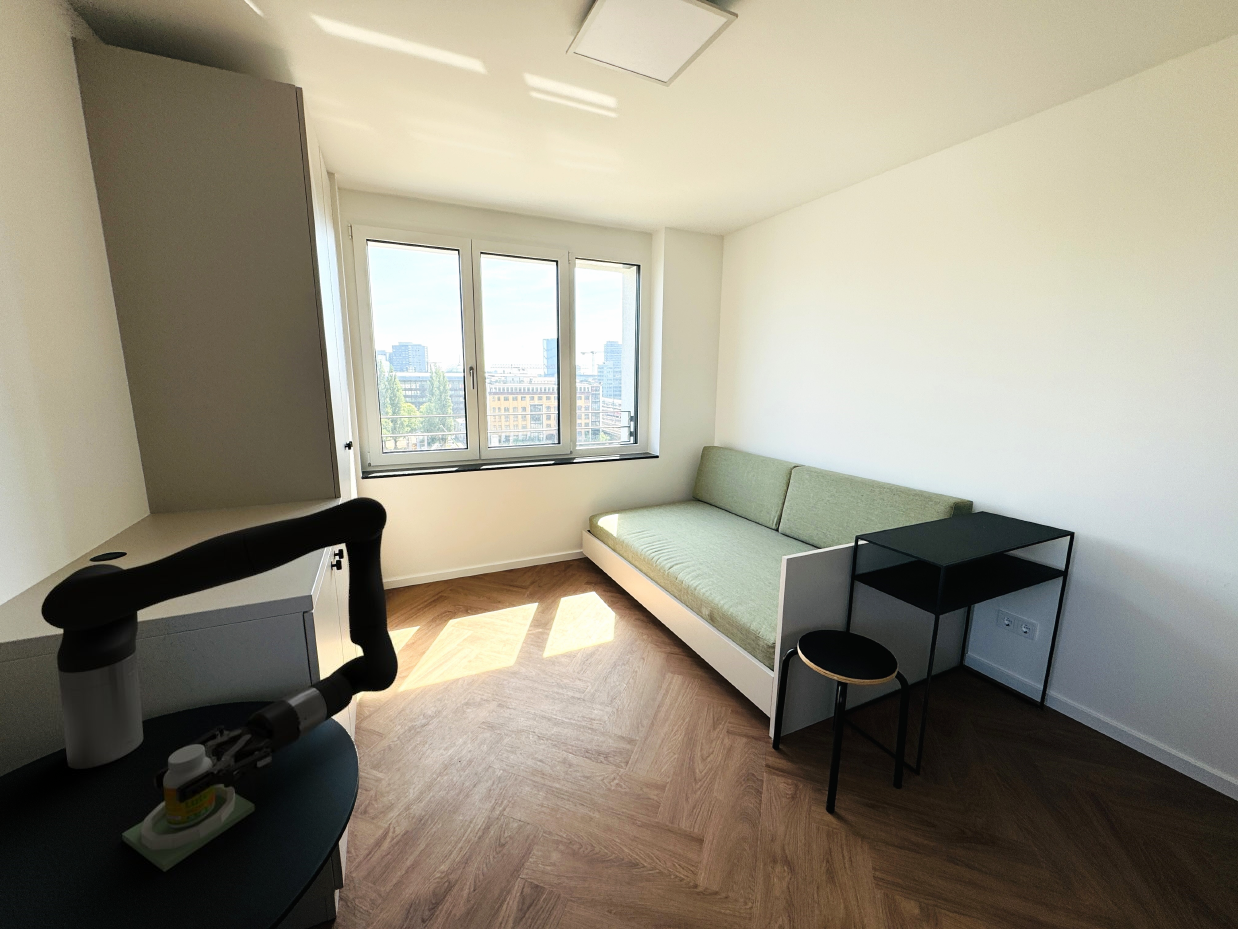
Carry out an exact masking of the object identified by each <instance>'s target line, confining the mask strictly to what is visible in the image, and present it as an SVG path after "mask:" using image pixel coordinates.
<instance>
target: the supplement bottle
mask: <svg viewBox="0 0 1238 929" xmlns="http://www.w3.org/2000/svg"><path fill="white" fill-rule="evenodd" d="M205 756H206V754H205V748H204V746H203V745H200V744H195V745H190V746H187V745H185V746H184V747H181V748H180V749H177V750H175V751H174V752H173V753H172V754H170V756H169V757H168V759H167V766H168V768H169V770H168V772H167V773H166V774H165V776H164V779H163V787H162V788H163V794H164V801H165V807H166V819H167V824H168V825H169V826H170V827H173V828H181V827H186V826H189V825H192V824H194V823H196V822H198V821H200V820H201V819H203V818H204V817H205V816H207V815H208V814H209V813H210V812H211V811H212V809H213V808H214V806H215V792H214V787H213V786H211V787H209V788H208V789H206V790H204V791H203V792H201V793H199V794H198V795H196V796H194V797H193V798H191V799H188V800H187V801H185V802H183V803H180V802H178V801H177V799H176V790H177V788H178V787H180V786H181V785H183V784H185V783H186V782H188V781H190V780H192V779H193V778H195V777H197V776H199V775H200V774H202V773H204V772H205V771H208V772H211V769H212V768H213V767H214V766H213V765H212V761H211V759H209V758H208V757H205Z"/></svg>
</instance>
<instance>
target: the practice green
mask: <svg viewBox="0 0 1238 929" xmlns="http://www.w3.org/2000/svg"><path fill="white" fill-rule="evenodd" d="M214 792H215V806H214V808H213V809H212V811H211V812H210V813H209V814H208V815H207V816H205V817H204V818H203V819H201V820H200V821H198V822H196V823H194V824H192V825H189V826H186V827H181V828H173V827H170V826H169V825H168V824H167V819H166V807H165V800H164V801H162V802H161V803H160V804H158V805H157V806H156V807H155V808H154V809H153V810H152V811H151V812H150V813H149V814H148V815H147V816H146V817H145V818H144V820H143V821H141V822H139V823H138V824H136V825H134V826H133V827H131V828H130V829H127V830H126V831H124V832H122V834H121V835H122V836H121V837H122V841H123V842H124V843H126V844H127V845H129V846H130V847H131V848H132V849H134V850H135V851H136V852H138V853H139V854H140V855H142V857H144V858H146V859H147V860H148V861H150V863H152V864H153V865H154V866H156V867H157V868H159V870H161V871H162V872H164V873H165V872H166V871H168V870H169V869H171V868H172V867H174V866H175V865H177V864H178V863H180V862H181V861H183V860H184V859H186V858H187V857H189V856H190V855H191V854H193V853H194V852H195V851H197V850H199V849H200V848H202V847H203V846H205V845H206V844H208V843H209V842H210V841H212V840H213V839H215V838H217V836H220V834H222V833H224V832H225V831H227V830H228V829H229V828H231V827H233V826H234V825H235V824H237V823H238V822H240V821H241V820H243V819H244V818H246V817H247V816H248V815H250V814H252V813H254V811H255V804H254V803H252V802H251V801H249V800H247V799H245V798H244V797H242V796H240V795H239V794H237V793H235V787H233V786H231V787H228V788H225V787H224V784H220V785H218V786H215V787H214Z"/></svg>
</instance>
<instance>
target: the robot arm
mask: <svg viewBox="0 0 1238 929" xmlns="http://www.w3.org/2000/svg"><path fill="white" fill-rule="evenodd" d="M387 518H388V516H387V511H386V508H385V507H384V505H383V504H382V503H381V502H380V501H378V500H377V499H374V498H371V497H367V496H366V497H363V496H361V497H355V498H352V499H349V500H347V501H346V500H345V501H344V502H341V503H338V504H336V505H333V506H331V507H328V508H325V509H322V510H320V511H317V512H313V513H310V514H307V515H303V516H299V517H293V518H289V519H288V518H287V519H283V520H282V519H281V520H277V521H273V522H267V523H264V524H259V525H255V526H251V527H250V526H249V527H246V528H243V529H242V528H241V529H239V530H235V531H231V532H227V533H223V534H220V535H217V536H214V537H211V538H208V539H205V540H202V541H199V542H198V543H195V544H193V545H190V546H188V547H186V548H184V549H180V550H178V551H177V552H174V553H172V554H170V555H168V556H165V557H162V558H160V559H158V560H155V561H151V562H149V563H144V564H141V565H138V566H133V567H129V568H123V567H120V566H117V565H115V564H110V563H97V564H91V565H87V566H84V567H82V568H80V569H78V570H75V571H74V572H72V573H71V574H70V575H68V576H67V577H66V578H64V579H62V581H61V582H59V583H57V584H56V585H55V586H54V587H53V588H52V589H51V590H50V591H49V592H48V594H47V595H46V597H45V598H44V600H43V602H42V605H41V609H40V611H41V612H40V613H41V616H42V618H43V620H44V621H45V622H46V623H47V624H49V625H50V626H51V627H54V628H56V629H60V630H62V636H61V637H62V638H61V642H60V644H59V647H58V651H57V654H56V663H57V671H58V672H57V673H58V681H59V682H58V683H59V691H60V699H61V701H60V702H61V709H62V719H63V729H64V740H65V750H66V760H67V766H68V767H69V768H71V769H75V770H77V769H78V770H82V769H84V770H85V769H91V768H95V767H99V766H103V765H105V764H109V763H111V762H113V761H116V760H119V759H121V758H122V757H125V756H126V755H128V754H130V753H131V752H133V751H134V750H135V749H137V748H138V747H139V746H140V745H141V744H142V742H143V740H144V733H143V731H144V730H143V716H142V715H143V714H142V706H141V704H142V703H141V692H140V682H139V680H140V679H139V678H140V677H139V670H138V669H139V668H138V658H137V642H136V641H137V635H138V629H139V620H138V619H139V618H138V616H139V615H138V612H140V611H142V610H144V609H148V608H150V607H152V606H155V605H158V604H160V603H163V602H166V601H169V600H173V599H177V598H180V597H184V596H189V595H193V594H195V593H200V592H204V591H207V590H210V589H213V588H214V589H215V588H217V587H220V586H223V585H226V584H227V585H228V584H231V583H235V582H238V581H242V580H244V579H248V578H251V577H254V576H258V575H261V574H264V573H268V572H269V571H272V570H275V569H277V568H280V567H281V566H282V567H283V566H284V565H286V564H289V563H292V562H293V561H295V560H297V559H299V558H302V557H304V556H306V555H309V554H311V553H313V552H316V551H319V550H322V549H326V548H327V549H328V548H330V547H334V546H339V545H343V544H344V546H345V550H346V554H347V563H348V598H347V599H348V600H347V601H348V602H347V603H348V605H347V607H348V611H347V612H348V628H349V638H350V642H351V643H352V644H353V645H356V646H358V647H359V648H361V652H362V654H363V655H359V656H356V657H354V658H351V659H349V661H346V662H345V663H343V664H342V665H341V666H339V667H338V668H337V669H336V670H334V671H333V672H332V673H330V674H329V675H328V676H327V677H324V678H322V679H319V680H318V681H316V682H314V683H312V684H310V685H309V686H307V687H305V688H302V689H299V690H297V691H294V692H292V693H291V694H288V695H287V696H284V697H283V698H281V699H279V700H277V701H276V702H273V703H271V704H269V705H267V706H266V707H264V708H262V709H259V710H258V711H256V712H254V713H253V714H251V715H250V717H249V718H248V719H247V722H246V723H245V725H243V726H241V727H238V728H234V729H232V730H229V731H228V730H225V725H224V724H223V725H222V724H221V725H218V726H216V727H214V728H213V729H211V730H210V731H208V732H207V733H205V734H203V735H201V736H200V737H199V738H198V737H197V739H195V740H194V741H192V742H191V743H189V744H187V745H186V746H190V745H195V744H200V745H203V746H204V748H205V757H208V758H209V759H211V761H212V767H213V768H212V769H211V772H208V771H205V772H204V773H202V774H200V775H199V776H197V777H195V778H193V779H192V780H190V781H188V782H186V783H185V784H183V785H181V786H180V787H178V788H177V790H176V799H177V801H178V802H180V803H183V802H185V801H187V800H188V799H191V798H193V797H194V796H196V795H198V794H199V793H201V792H203V791H204V790H206V789H208V788H209V787H211V786H213V787H215V786H218V785H220V784H224V787H225V788H228V787H233V786H234V785H237V784H239V783H241V782H242V781H244V780H246V779H248V778H250V777H252V776H254V775H255V774H258V773H260V772H262V771H263V770H266V769H268V768H269V767H271V766H272V764H273V763H272V759H273V758H272V756H273V755H275V754H277V753H279V752H281V751H282V750H283V749H285V748H287V747H288V746H290V745H292V744H293V743H295V742H296V741H297V740H300V739H301V738H303V737H304V736H306V735H308V734H309V733H311V732H312V731H314V730H315V729H316V728H318V727H319V726H320V725H322V724H323V723H325V722H326V721H327V720H330V719H331V718H333V717H334V716H336V715H337V714H339V713H341V712H342V711H343V710H345V709H346V708H347V707H348V706H349V705H350V704H351V701H352V700H353V697H355V695H358V694H359V693H362V692H363V693H364V692H368V693H369V692H371V693H372V692H373V693H377V692H383V691H385V690H387V689H389V688H390V687H391V686H392V685H393V684H394V683H395V681H396V678H397V675H398V670H399V661H398V657H397V653H396V650H395V647H394V644H393V642H392V641H393V640H392V638H391V635H390V633H389V630H388V616H387V615H388V614H387V600H386V594H385V587H384V581H383V580H384V579H383V575H382V574H383V573H382V562H381V559H382V558H381V554H382V553H381V551H382V549H381V548H382V540H383V533H384V529H385V528H386V524H387V520H388V519H387ZM213 749H215V756H213V753H212V752H213V751H212V750H213ZM241 769H242V771H241V773H239V774H237V773H238V772H239V771H240V770H241ZM168 770H169V768H168V765H167V766H165V767H163V768H162V769H160V770H158V771H157V772H155V773H154V775H153V786H154V787H155V788H157V789H161V788H164V787H163V779H164V776H165V774H166V773H167V772H168ZM236 774H237V775H236Z"/></svg>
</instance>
